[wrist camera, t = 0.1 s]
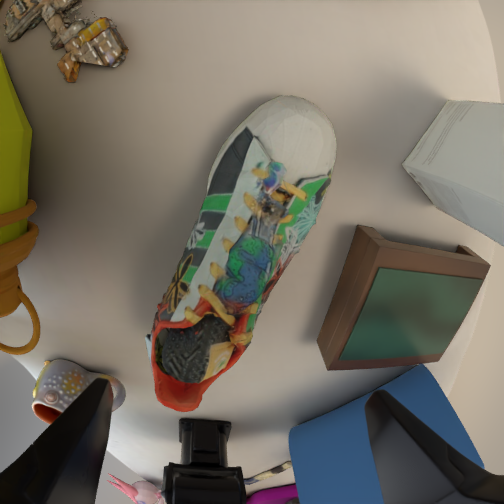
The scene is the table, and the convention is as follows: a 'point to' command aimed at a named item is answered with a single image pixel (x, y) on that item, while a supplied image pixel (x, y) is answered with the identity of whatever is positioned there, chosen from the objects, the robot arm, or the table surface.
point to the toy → (140, 491)
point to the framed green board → (397, 303)
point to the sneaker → (240, 245)
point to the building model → (69, 34)
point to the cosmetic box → (464, 164)
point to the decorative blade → (268, 473)
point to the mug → (66, 388)
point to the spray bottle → (274, 495)
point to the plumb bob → (14, 206)
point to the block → (366, 442)
